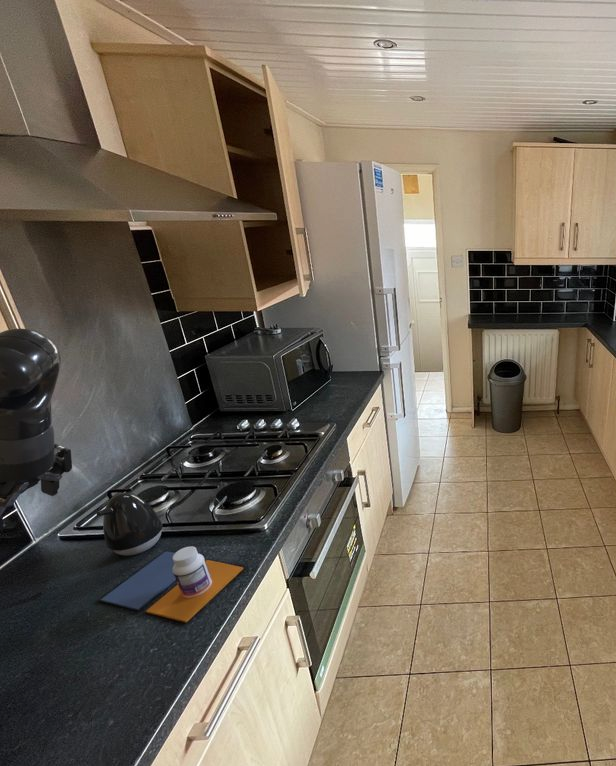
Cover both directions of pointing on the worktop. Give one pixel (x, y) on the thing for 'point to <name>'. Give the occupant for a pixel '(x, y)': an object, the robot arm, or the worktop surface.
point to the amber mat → (186, 608)
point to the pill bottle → (191, 572)
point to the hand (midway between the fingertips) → (23, 510)
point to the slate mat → (144, 584)
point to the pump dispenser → (130, 524)
